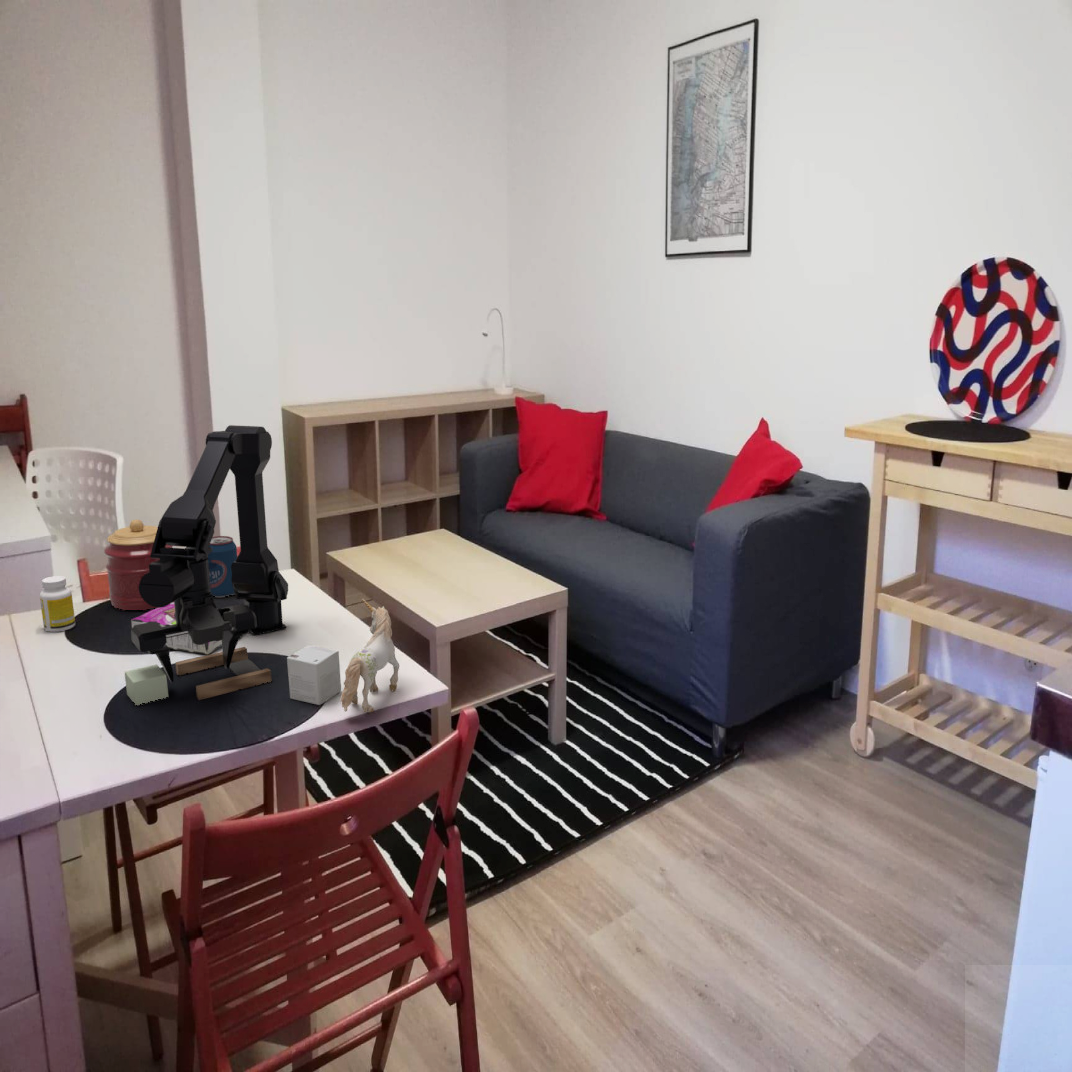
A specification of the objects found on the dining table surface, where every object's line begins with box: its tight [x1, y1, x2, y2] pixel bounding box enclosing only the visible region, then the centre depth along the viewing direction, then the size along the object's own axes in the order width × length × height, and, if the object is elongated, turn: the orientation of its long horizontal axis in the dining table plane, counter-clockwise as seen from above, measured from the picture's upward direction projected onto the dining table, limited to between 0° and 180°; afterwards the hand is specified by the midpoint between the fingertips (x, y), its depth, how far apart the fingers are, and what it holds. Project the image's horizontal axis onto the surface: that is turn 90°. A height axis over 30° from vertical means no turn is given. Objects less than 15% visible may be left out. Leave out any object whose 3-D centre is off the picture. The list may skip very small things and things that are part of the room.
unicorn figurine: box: [340, 598, 400, 714], centre depth 144 cm, size 7×20×13 cm, turn 0°
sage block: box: [124, 664, 169, 706], centre depth 144 cm, size 5×5×4 cm
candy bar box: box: [130, 602, 222, 655], centre depth 166 cm, size 11×5×16 cm
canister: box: [103, 519, 174, 611], centre depth 183 cm, size 13×13×18 cm
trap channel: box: [175, 646, 272, 701], centre depth 151 cm, size 12×12×2 cm
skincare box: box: [286, 644, 342, 706], centre depth 145 cm, size 6×6×7 cm
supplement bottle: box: [39, 575, 76, 633], centre depth 170 cm, size 5×5×10 cm
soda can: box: [208, 535, 238, 598], centre depth 190 cm, size 7×7×12 cm
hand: (199, 674), depth 149 cm, fingers open, 9 cm apart
